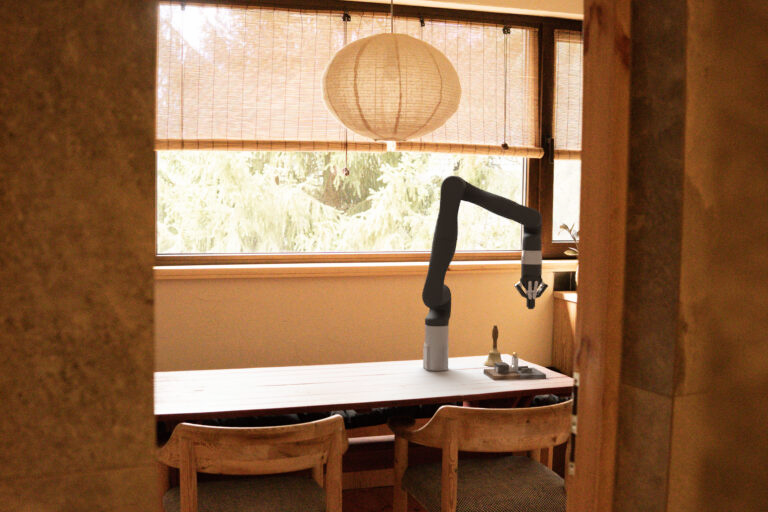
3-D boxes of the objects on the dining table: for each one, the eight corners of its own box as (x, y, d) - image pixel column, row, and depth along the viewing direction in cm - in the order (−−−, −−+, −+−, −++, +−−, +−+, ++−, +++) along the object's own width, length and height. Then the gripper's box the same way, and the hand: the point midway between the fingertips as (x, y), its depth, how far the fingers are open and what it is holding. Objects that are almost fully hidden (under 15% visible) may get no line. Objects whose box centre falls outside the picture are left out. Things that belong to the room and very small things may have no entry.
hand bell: (508, 364, 284) (508, 325, 283) (499, 367, 277) (500, 327, 276) (488, 362, 289) (489, 323, 288) (480, 365, 282) (481, 325, 281)
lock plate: (494, 380, 256) (494, 367, 256) (483, 373, 268) (483, 360, 267) (546, 378, 259) (546, 365, 259) (533, 371, 271) (533, 359, 271)
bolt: (497, 372, 261) (497, 353, 261) (495, 371, 263) (495, 352, 263) (518, 371, 262) (518, 352, 262) (516, 370, 265) (516, 351, 264)
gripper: (518, 263, 257) (517, 310, 258) (552, 263, 260) (551, 310, 261) (511, 262, 265) (510, 308, 266) (544, 262, 267) (543, 307, 268)
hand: (530, 308), depth 263 cm, fingers closed
